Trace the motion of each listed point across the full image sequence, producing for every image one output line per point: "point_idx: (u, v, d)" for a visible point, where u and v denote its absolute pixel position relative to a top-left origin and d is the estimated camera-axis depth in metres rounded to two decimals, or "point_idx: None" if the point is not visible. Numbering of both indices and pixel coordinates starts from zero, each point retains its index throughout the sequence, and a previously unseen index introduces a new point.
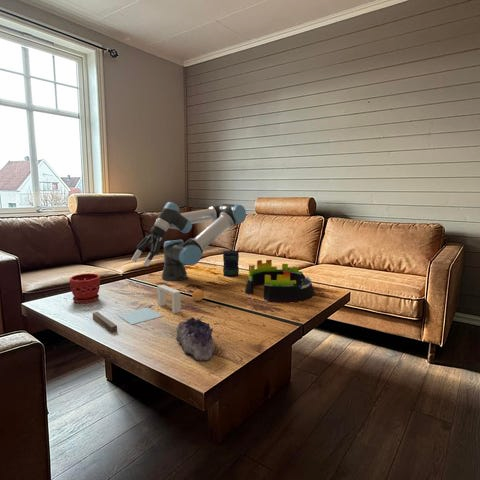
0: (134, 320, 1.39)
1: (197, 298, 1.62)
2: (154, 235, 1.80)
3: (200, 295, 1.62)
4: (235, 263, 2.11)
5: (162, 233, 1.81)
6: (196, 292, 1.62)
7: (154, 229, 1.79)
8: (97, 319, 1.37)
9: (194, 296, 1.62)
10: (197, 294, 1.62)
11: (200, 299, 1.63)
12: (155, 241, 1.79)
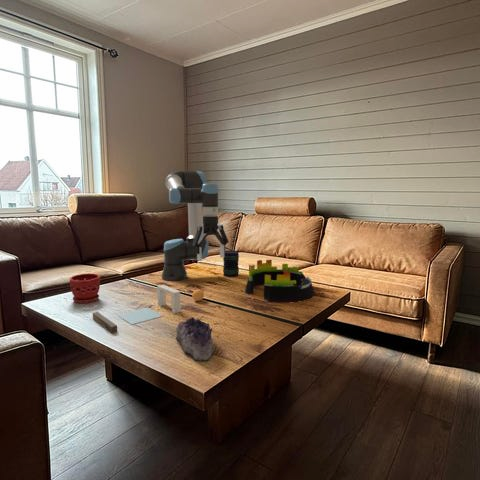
0: (134, 320, 1.39)
1: (197, 298, 1.62)
2: (213, 226, 1.66)
3: (200, 295, 1.62)
4: (235, 263, 2.11)
5: None
6: (196, 292, 1.62)
7: (217, 221, 1.65)
8: (97, 319, 1.37)
9: (194, 296, 1.62)
10: (197, 294, 1.62)
11: (200, 299, 1.63)
12: None
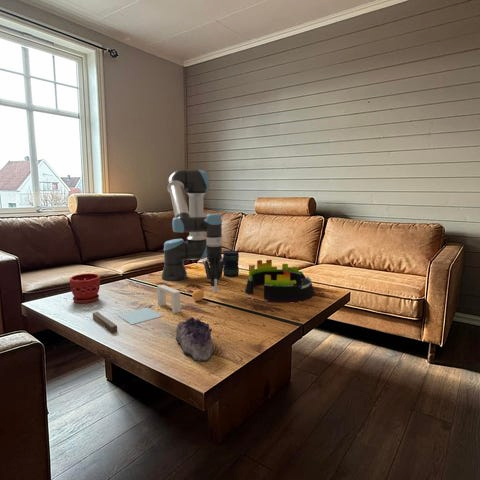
0: (134, 320, 1.39)
1: (197, 298, 1.62)
2: (217, 255, 1.68)
3: (200, 295, 1.62)
4: (235, 263, 2.11)
5: None
6: (196, 292, 1.62)
7: (221, 250, 1.67)
8: (97, 319, 1.37)
9: (194, 296, 1.62)
10: (197, 294, 1.62)
11: (200, 299, 1.63)
12: None
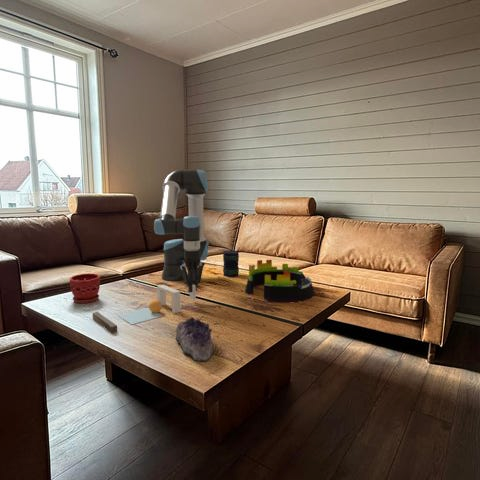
0: (134, 320, 1.39)
1: None
2: (195, 259, 1.60)
3: (157, 309, 1.46)
4: (235, 263, 2.11)
5: None
6: (153, 312, 1.47)
7: (199, 255, 1.58)
8: (97, 319, 1.37)
9: None
10: (156, 312, 1.47)
11: (161, 306, 1.48)
12: None
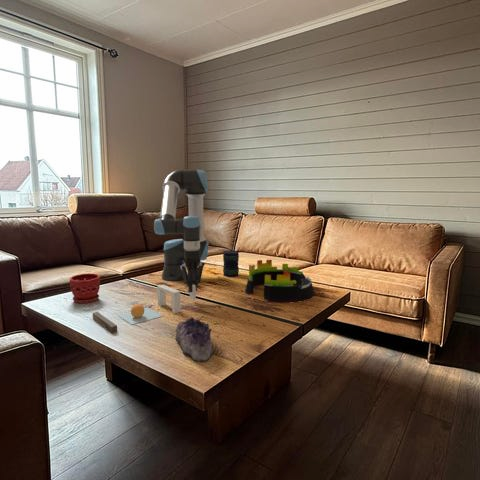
0: (134, 320, 1.39)
1: (137, 308, 1.41)
2: (195, 259, 1.60)
3: (141, 310, 1.41)
4: (235, 263, 2.11)
5: None
6: (142, 306, 1.43)
7: (199, 255, 1.58)
8: (97, 319, 1.37)
9: (137, 305, 1.42)
10: (141, 307, 1.42)
11: (136, 312, 1.40)
12: None
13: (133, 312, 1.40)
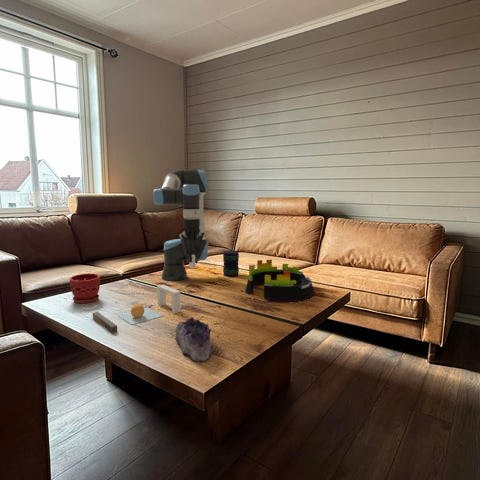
0: (134, 320, 1.39)
1: (137, 308, 1.41)
2: (194, 229, 1.58)
3: (141, 310, 1.41)
4: (235, 263, 2.11)
5: None
6: (142, 306, 1.43)
7: (198, 224, 1.56)
8: (97, 319, 1.37)
9: (137, 305, 1.42)
10: (141, 307, 1.42)
11: (136, 312, 1.40)
12: None
13: (133, 312, 1.40)
